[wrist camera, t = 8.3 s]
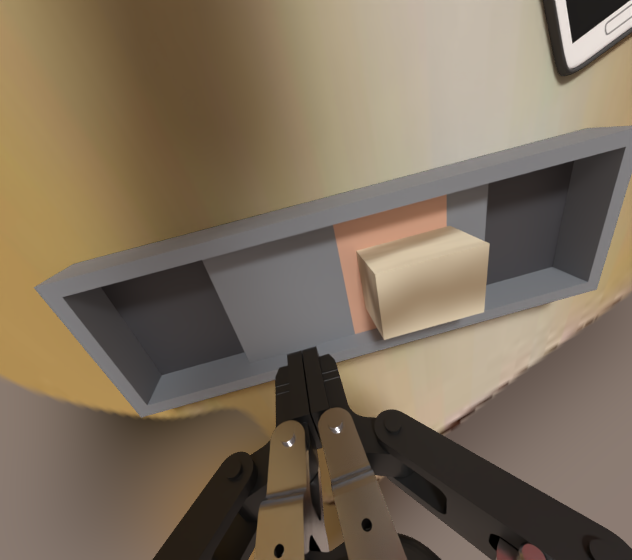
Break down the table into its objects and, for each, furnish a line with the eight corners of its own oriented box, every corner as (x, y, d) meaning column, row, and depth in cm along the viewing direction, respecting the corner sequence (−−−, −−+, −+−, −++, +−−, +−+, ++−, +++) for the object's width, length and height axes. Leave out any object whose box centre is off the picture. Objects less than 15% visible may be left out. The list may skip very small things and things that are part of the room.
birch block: (356, 250, 19) (375, 274, 16) (450, 225, 19) (489, 243, 16) (365, 308, 22) (383, 339, 18) (449, 284, 22) (484, 312, 18)
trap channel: (73, 264, 19) (33, 287, 16) (587, 128, 20) (646, 124, 17) (157, 382, 24) (141, 417, 21) (556, 271, 25) (596, 289, 22)
